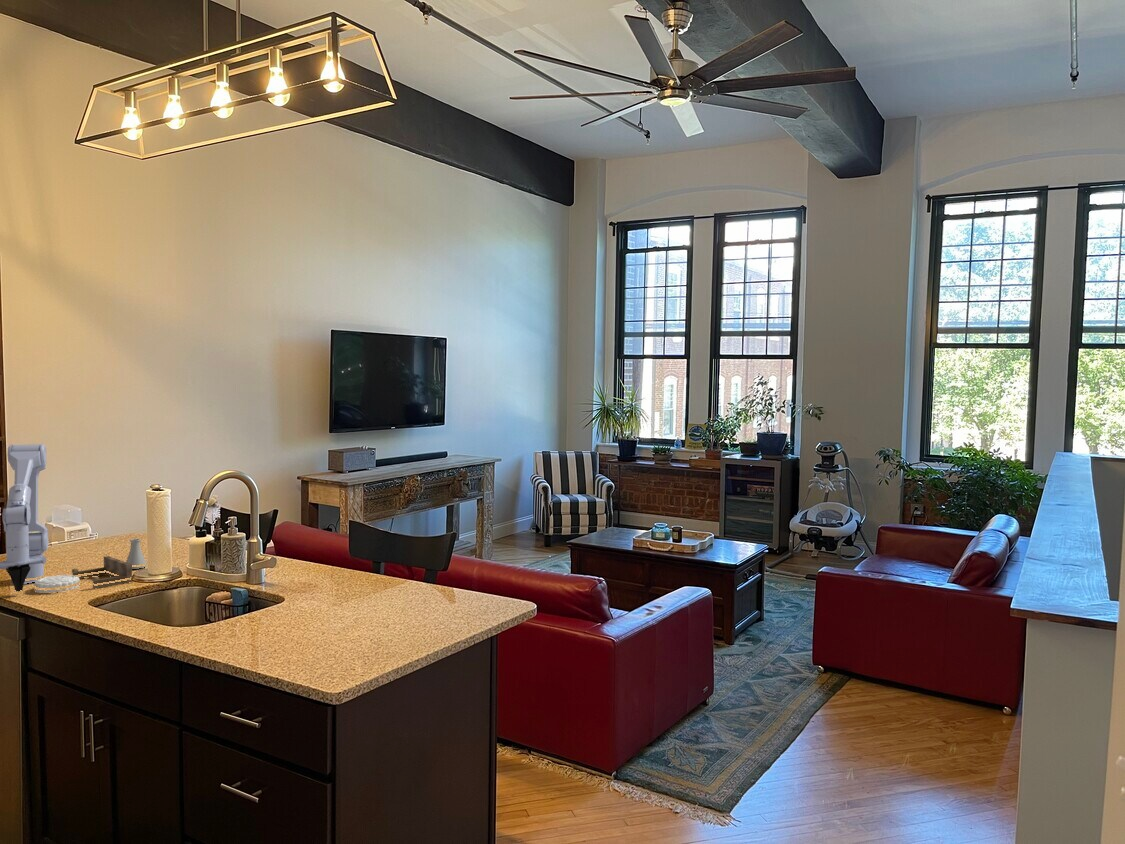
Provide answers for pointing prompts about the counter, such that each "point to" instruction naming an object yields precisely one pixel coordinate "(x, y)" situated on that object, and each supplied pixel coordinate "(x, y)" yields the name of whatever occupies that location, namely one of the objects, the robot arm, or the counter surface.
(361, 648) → the counter surface
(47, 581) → the mooncake
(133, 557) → the flask
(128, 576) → the lid holder
